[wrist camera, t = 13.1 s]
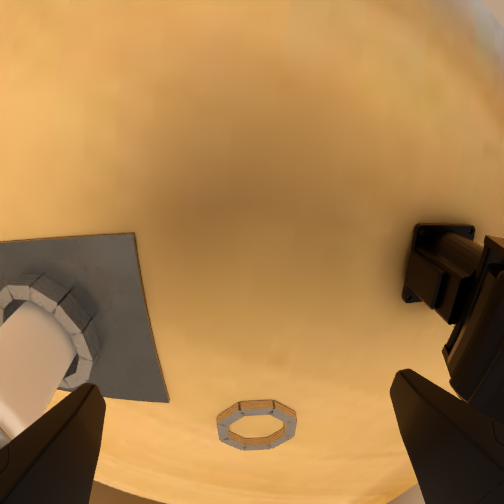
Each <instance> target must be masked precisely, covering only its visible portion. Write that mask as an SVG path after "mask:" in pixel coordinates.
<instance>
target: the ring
mask: <svg viewBox="0 0 504 504" xmlns="http://www.w3.org/2000/svg"><path fill="white" fill-rule="evenodd" d="M269 414H270V415H272V416H274V417H276V418H278V419H280V420H282V421H284V428H283V429H281V430H280V431H278V432H276V433H274V434H273V435H271V436H269V437H267V438H251V439H245V438H243V437H241V436H239V435H236V434H234V433H232V432H230V431H229V425H230V424H232V423H234V422H235V421H237V420H239V419H240V418H242V417H243V416H253V415H269ZM296 423H297V418H296V413H295V411H293V410H291V409H289V408H287V407H286V406H284V405H282V404H280V403H278V402H277V401H275V400H274V401H273V402H272V400H262V401H242V402H240V403H239V402H238V403H236V404H235V405H233V406H232V407H230V408H229V409H227V410H226V411H224V412H223V413H221V414H219V415H218V417H217V429H218V435H219V440H221V442H224V443H226V444H228V445H230V446H233V447H235V448H237V449H240V450H244V451H245V450H264V449H271V448H275V447H276V446H278V445H280V444H282V443H284V442H285V441H287V440H289V439H291V438H293V436H294V435H295V429H296Z"/></svg>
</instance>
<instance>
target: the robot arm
mask: <svg viewBox="0 0 504 504" xmlns="http://www.w3.org/2000/svg"><path fill="white" fill-rule="evenodd" d="M421 229H422V232H421V233H420V230H421ZM469 231H470V232H469ZM474 234H475V227H474V226H472V225H470V224H418V225H416V227H415V229H414V236H413V242H412V248H411V253H410V257H409V262H408V268H407V273H406V278H405V286H404V290H403V295H402V299H403V300H404V301H405V302H406V303H414V302H421V301H423V302H424V303H425V304H426V305H427V306H428V307H429V308H430V309H432V310H433V309H434V310H435V311H436V312H437V313H438V314H439V315H440V316H441V317H442V318H443V319H444V320H445V321H446V322H447V323H448V324H449V325H451V324H454V325H455V327H454V329H453V331H452V333H451V335H450V338H449V340H448V342H447V344H445V345H444V347H443V349H442V354H443V356H444V359H445V362H446V365H447V368H448V371H449V374H450V377H451V378H450V380H449V383H450V385H451V387H452V388H453V390H454V391H455V392H456V394H457V395H458V397H459V398H460V399H461V400H460V399H459V398H457V397H455V396H454V395H452V394H450V393H449V392H447V391H445V390H444V389H442V388H441V387H439V386H437V385H436V384H434V383H432V382H431V381H429V380H428V379H426V378H424V377H423V376H421V375H419V374H418V373H416V372H415V371H413V370H411V369H404V370H399V371H398V372H397V373H396V375H395V378H394V380H393V383H392V386H391V388H390V397H391V400H392V404H393V407H394V411H395V415H396V419H397V422H398V426H399V430H400V433H401V436H402V439H403V442H404V445H405V447H406V450H407V452H408V455H409V458H410V461H411V463H412V466H413V469H414V472H415V474H416V477H417V480H418V483H419V486H420V489H421V491H422V495H423V498H424V501H425V504H504V239H503V238H498V237H494V236H489V235H486V236H485V239H484V247H482V246H480V245H478V244H477V243H475V242H473V239H474ZM409 295H410V296H409ZM408 296H409V297H408ZM407 297H408V298H407ZM105 411H106V403H105V400H104V398H103V396H102V394H101V392H100V390H99V388H98V386H97V385H96V384H92V383H83V384H82V385H80V386H79V387H78V388H77V389H75V390H74V391H73V392H72V393H70V394H69V395H68V396H66V397H65V398H64V399H63V400H61V401H60V402H59V403H58V404H56V405H55V406H54V407H53V408H51V409H50V410H49V411H48V412H46V413H45V414H44V415H43V416H41V417H40V418H39V419H38V420H36V421H35V422H34V423H32V424H31V425H30V426H29V427H27V428H26V429H25V430H24V431H22V432H21V433H20V434H19V435H17V436H16V437H15V438H14V439H12V440H11V441H10V442H9V443H7V444H6V445H5V446H3V447H2V448H1V449H0V504H89V499H90V493H91V489H92V483H93V479H94V474H95V470H96V465H97V461H98V457H99V452H100V447H101V440H102V432H103V424H104V417H105Z"/></svg>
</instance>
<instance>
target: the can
mask: <svg viewBox="0 0 504 504" xmlns="http://www.w3.org/2000/svg"><path fill="white" fill-rule="evenodd" d="M76 354H77V350H76V347H75V345H74V342H73V339H72V337H71V335H70V334H69V332H68V331H67V330H66V329H65V328H64V327H63V325H62V324H61V323H60V322H59V321H58V320H57V318H56V317H55V316H54V315H53V314H52V313H51V312H49V311H47V310H46V309H44V308H43V307H41V306H39V305H38V304H36V303H35V302H33V301H32V300H27V301H26V302H25V303H23V304H22V305H21V306H20V307H19V308H18V309H17V310H16V311H15V312H14V313H13V314H12V315H11V316H10V317H9V318H8V319H7V320H6V321H5V322H4V323H3V325H2V326H1V327H0V449H1V448H2V447H3V446H5V445H6V444H7V443H9V442H10V441H11V440H12V439H14V438H15V437H16V436H17V435H19V434H20V433H21V432H22V431H24V430H25V429H26V428H27V427H29V426H30V425H31V424H32V423H34V422H35V421H36V420H38V419H39V418H40V417H41V416H43V414H44V412H45V410H46V408H47V406H48V404H49V402H50V400H51V399H52V397H53V395H54V393H55V391H56V389H57V387H58V386H59V384H60V382H61V380H62V378H63V377H64V375H65V373H66V371H67V370H68V368H69V366H70V364H71V363H72V361H73V359H74V357H75V355H76Z"/></svg>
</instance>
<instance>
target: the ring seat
mask: <svg viewBox="0 0 504 504" xmlns="http://www.w3.org/2000/svg"><path fill="white" fill-rule="evenodd" d="M27 300H32V301H33V302H35V303H36V304H38V305H39V306H41V307H43V308H44V309H46V310H47V311H49V312H51V313H52V314H53V315H54V316H55V317H56V318H57V320H58V321H59V322H60V323H61V324H62V325H63V327H64V328H65V329H66V330H67V331H68V332H69V334H70V335H71V337H72V339H73V342H74V345H75V347H76V350H77V354H76V355H75V357H74V359H73V361H72V363H71V364H70V366H69V368H68V370H67V371H66V373H65V375H64V377H63V378H62V380H61V382H60V384H59V386H58V387H57V389H58V390H63V391H68V392H73V391H74V390H75V389H77V388H78V387H79V386H80V385H82V384H83V383H92V384H96V385H97V386H98V388H99V390H100V392H101V394H102V396H103V397H108V398H116V399H125V400H135V401H147V402H162V403H169V401H170V399H169V396H168V392H167V389H166V385H165V382H164V378H163V374H162V370H161V367H160V363H159V359H158V355H157V351H156V347H155V342H154V338H153V334H152V329H151V325H150V320H149V315H148V311H147V306H146V301H145V295H144V290H143V285H142V279H141V273H140V267H139V261H138V255H137V248H136V241H135V234H134V233H120V234H103V235H86V236H71V237H56V238H42V239H29V240H16V241H4V242H0V327H1V326H2V325H3V323H4V322H5V321H6V320H7V319H8V318H9V317H10V316H11V315H12V314H13V313H14V312H15V311H16V310H17V309H18V308H19V307H20V306H21V305H22V304H23V303H25V302H26V301H27Z"/></svg>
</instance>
